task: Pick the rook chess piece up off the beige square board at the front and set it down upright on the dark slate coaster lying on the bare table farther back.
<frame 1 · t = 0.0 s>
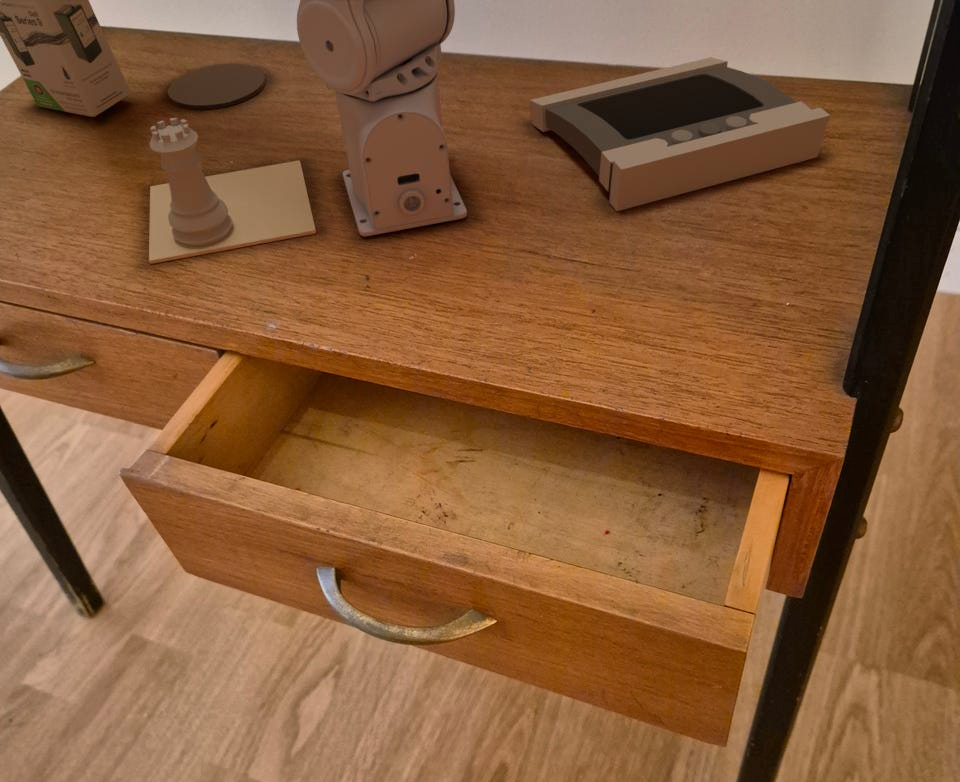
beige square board: (230, 210, 67), on the table
ink box: (85, 102, 81), on the table, touching gripper
slate coaster: (217, 87, 82), on the table
alarm clock: (666, 140, 71), on the table
rook chess piece: (204, 234, 65), resting on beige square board
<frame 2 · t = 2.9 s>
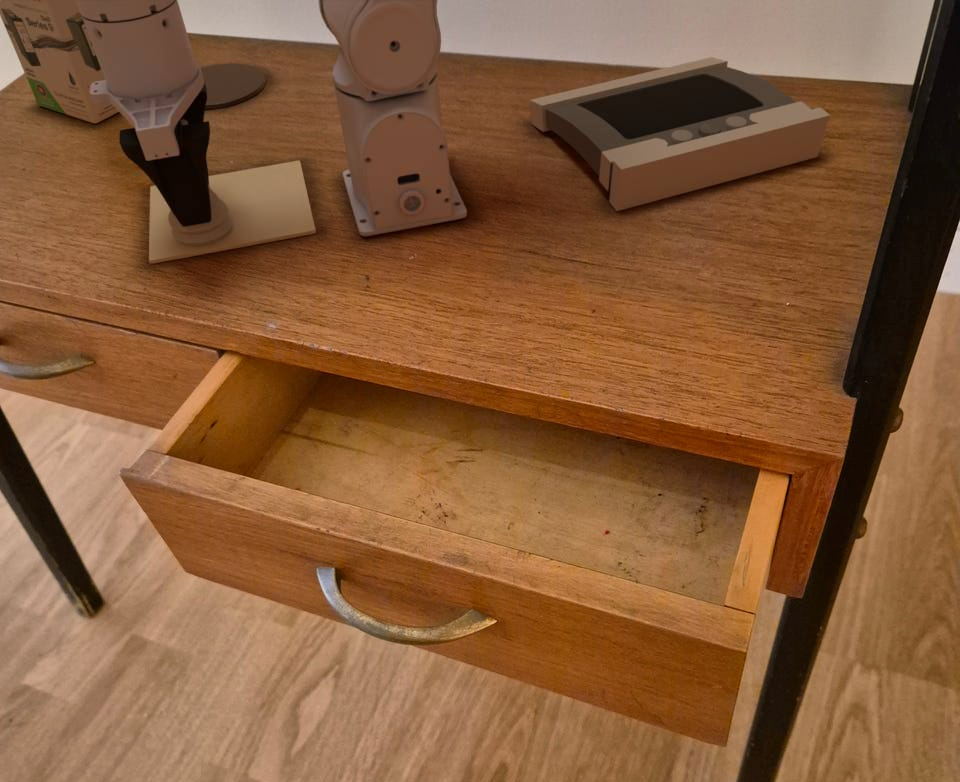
hand: (196, 207, 63), 2 cm above the table, tool pointing down, fingers closed on rook chess piece, 3 cm apart
ink box: (87, 107, 81), on the table
rook chess piece: (204, 234, 65), resting on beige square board, touching gripper
everything else where it was.
when the fingers open (2 cm above the table, at t = 8.0 s): rook chess piece stays where it is, resting on slate coaster.
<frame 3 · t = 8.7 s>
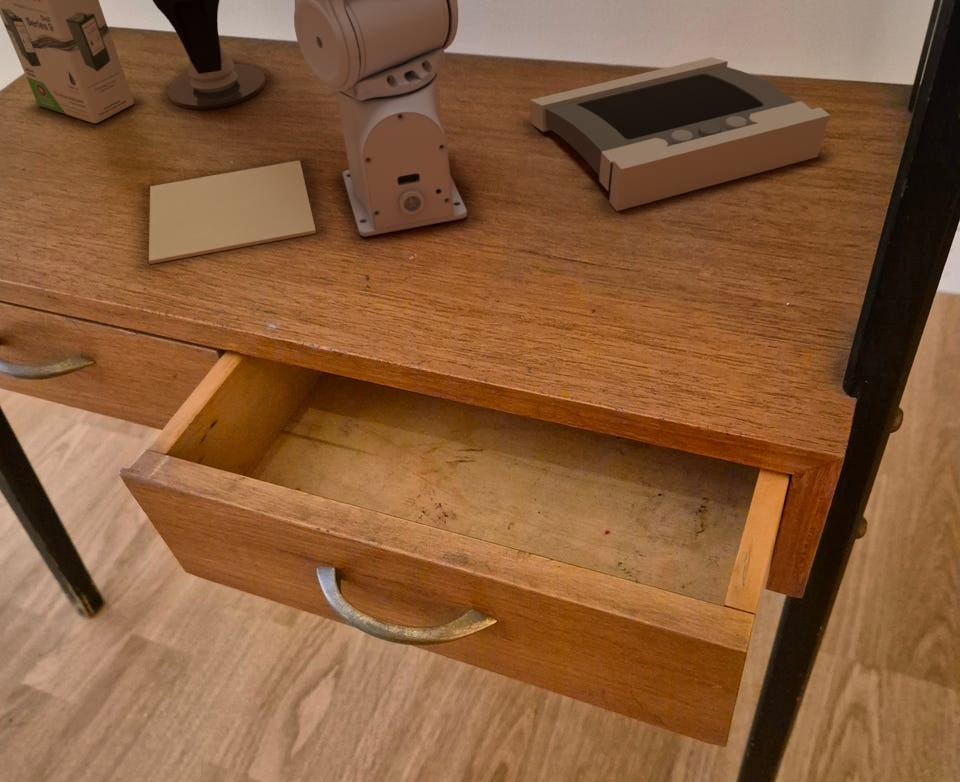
hand: (208, 54, 80), 3 cm above the table, tool pointing down, fingers open, 7 cm apart
rook chess piece: (215, 86, 82), resting on slate coaster
everything else where it was.
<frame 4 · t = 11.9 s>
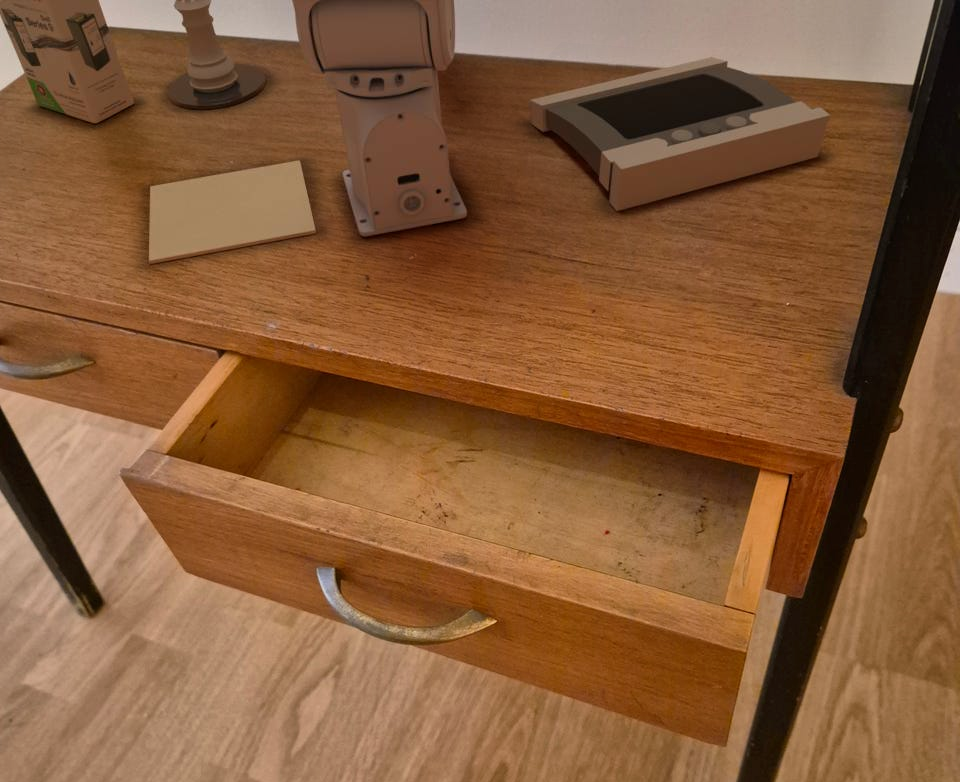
nothing on the table moved.
at the end: rook chess piece 0.1 cm off-centre on the slate coaster, point 0.2 cm above the slate coaster's base; rook chess piece touching slate coaster; rook chess piece tilted 0° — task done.
